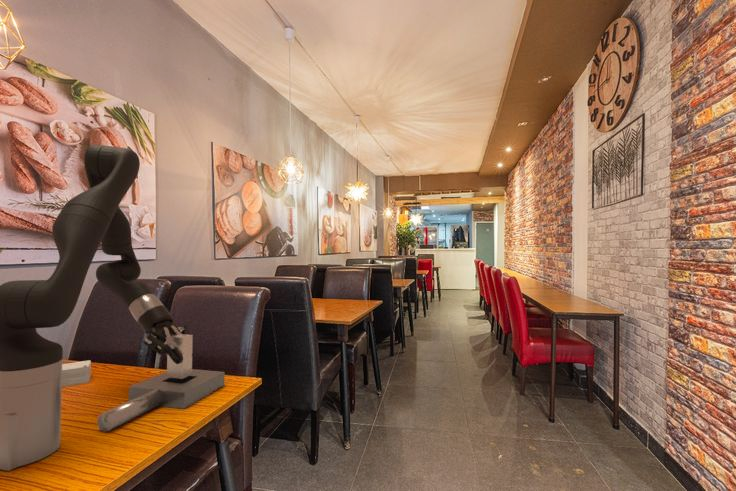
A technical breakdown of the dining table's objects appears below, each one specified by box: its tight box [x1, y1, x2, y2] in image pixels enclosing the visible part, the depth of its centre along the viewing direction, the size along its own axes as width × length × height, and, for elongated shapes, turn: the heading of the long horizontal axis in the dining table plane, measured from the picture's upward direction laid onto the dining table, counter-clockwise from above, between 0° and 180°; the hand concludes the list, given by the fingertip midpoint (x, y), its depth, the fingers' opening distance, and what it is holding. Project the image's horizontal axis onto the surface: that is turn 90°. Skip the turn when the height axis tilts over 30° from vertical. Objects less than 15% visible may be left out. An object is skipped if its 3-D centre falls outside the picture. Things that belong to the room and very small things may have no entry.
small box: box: [62, 359, 92, 388], centre depth 103 cm, size 8×8×5 cm
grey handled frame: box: [97, 368, 226, 433], centre depth 87 cm, size 29×17×4 cm, turn 167°
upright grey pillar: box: [166, 334, 194, 379], centre depth 94 cm, size 4×5×11 cm
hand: (186, 359), depth 93 cm, fingers closed on upright grey pillar, 3 cm apart
